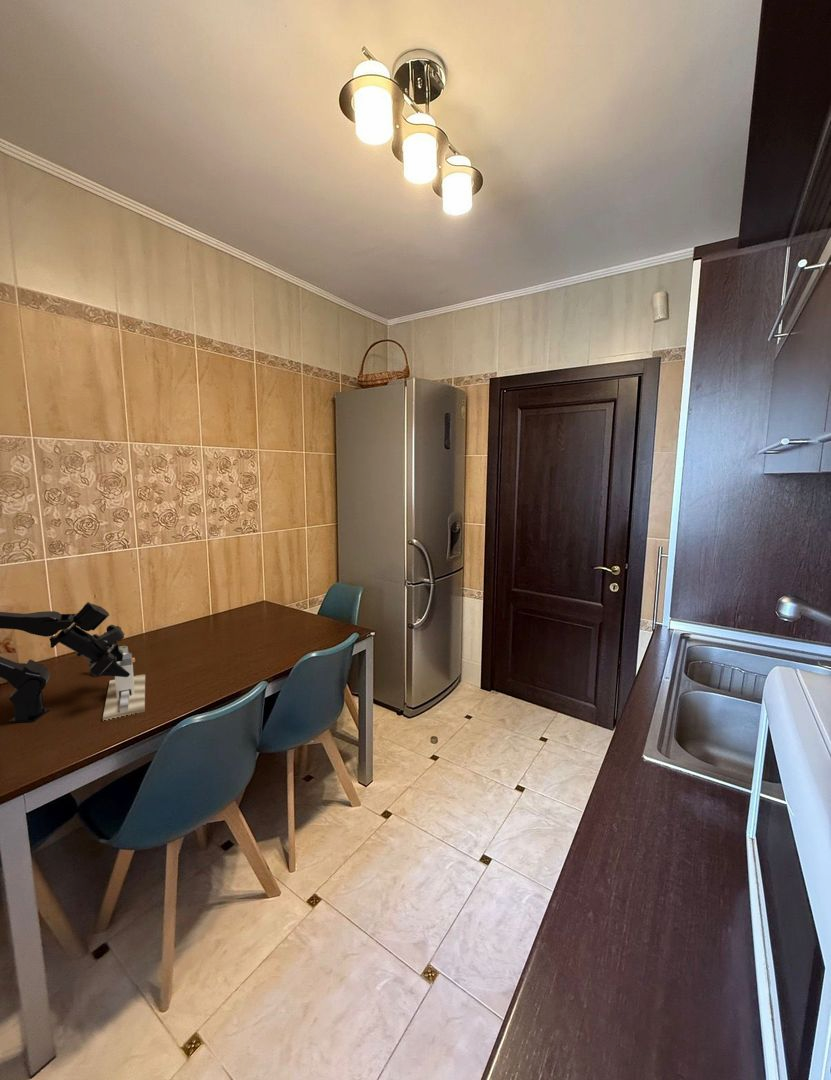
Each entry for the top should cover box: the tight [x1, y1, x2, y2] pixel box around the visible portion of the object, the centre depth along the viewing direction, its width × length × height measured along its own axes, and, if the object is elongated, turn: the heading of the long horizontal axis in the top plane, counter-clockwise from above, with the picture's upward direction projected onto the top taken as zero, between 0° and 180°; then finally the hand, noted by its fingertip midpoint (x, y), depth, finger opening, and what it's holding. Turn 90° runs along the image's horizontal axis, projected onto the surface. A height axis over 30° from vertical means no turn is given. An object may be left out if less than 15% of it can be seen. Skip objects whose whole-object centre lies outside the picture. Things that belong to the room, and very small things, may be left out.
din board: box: [102, 673, 146, 722], centre depth 137 cm, size 26×10×3 cm, turn 31°
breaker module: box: [114, 652, 136, 698], centre depth 136 cm, size 4×5×12 cm
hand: (129, 669), depth 137 cm, fingers open, 9 cm apart
